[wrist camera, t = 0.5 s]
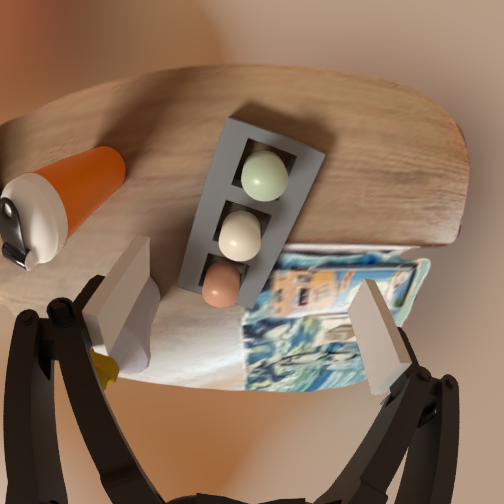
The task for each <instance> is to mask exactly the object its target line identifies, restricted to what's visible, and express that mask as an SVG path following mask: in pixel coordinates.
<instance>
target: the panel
mask: <svg viewBox="0 0 504 504" xmlns="http://www.w3.org/2000/svg"><path fill="white" fill-rule="evenodd" d="M248 138H250V139H253V140H256V141H258V142H261V143H264V144H267V145H270V146H272V147H275V148H278V149H280V150H283V151H286V152H288V153H291V154H293V155H292V158H291V160H290V162H289V165H288V167H287V169H286V171H287V173H288V185H287V188H286V190H285V191H284V193H283V194H282V195H281V196H279V197H278V198H276V199H274V200H271V201H258V200H255V199H253V198H251V197H250V196H249V195H248V194H247V193H246V192H245V190H244V189H243V186H242V182H241V180H238V179H235V178H234V175H235V172H236V169H237V166H238V164H239V161H240V158H241V156H242V153H243V150H244V147H245V145H246V142H247V139H248ZM325 155H326V154H324V153H323V152H322V151H321V150H319V149H316V148H314V147H312V146H309V145H307V144H305V143H302V142H300V141H297V140H295V139H292V138H290V137H287V136H285V135H282V134H279V133H277V132H274V131H271V130H269V129H266V128H263V127H260V126H258V125H255V124H252V123H249V122H246V121H243V120H240V119H237V118H234V117H230V116H229V117H227V119H226V122H225V125H224V127H223V130H222V133H221V136H220V139H219V142H218V145H217V148H216V151H215V154H214V157H213V160H212V163H211V166H210V169H209V172H208V175H207V179H206V182H205V185H204V188H203V192H202V195H201V198H200V202H199V205H198V208H197V212H196V215H195V219H194V222H193V226H192V229H191V233H190V237H189V240H188V244H187V248H186V252H185V256H184V260H183V263H182V267H181V271H180V276H179V280H178V284H177V287H179V288H182V289H185V290H188V291H192V292H195V293H198V294H202V288H203V284H204V280H205V276H206V275H204V274H202V271H203V267H204V264H205V261H206V258H207V255H208V253H211V254H214V255H217V256H220V257H224V258H227V257H226V256H225V255H224V254H223V253H222V252H221V250H220V248H219V237H220V233H221V232H220V231H217V230H216V227H217V224H218V221H219V218H220V215H221V212H222V209H223V206H224V203H225V200H229V201H232V202H235V203H238V204H241V205H244V206H247V207H250V208H253V209H256V210H259V211H262V212H264V213H267V217H266V219H265V221H264V224H263V226H262V229H261V231H260V235H261V246H260V250H259V252H258V253H257V254H256V255H255V256H254V257H253V258H251V259H249V260H246V261H237V262H240V263H243V264H246V266H245V269H244V271H243V273H242V276H241V278H240V284H239V296H238V300H237V301H236V303H234V304H236V305H240V306H243V307H247V308H251V309H252V308H253V306H254V304H255V302H256V300H257V298H258V296H259V294H260V292H261V290H262V288H263V286H264V284H265V282H266V280H267V278H268V276H269V274H270V272H271V270H272V268H273V266H274V264H275V262H276V260H277V258H278V256H279V254H280V252H281V250H282V247H283V245H284V243H285V241H286V239H287V237H288V235H289V233H290V231H291V229H292V227H293V224H294V222H295V220H296V218H297V216H298V214H299V212H300V210H301V207H302V205H303V203H304V201H305V199H306V197H307V195H308V192H309V190H310V188H311V186H312V184H313V182H314V179H315V177H316V175H317V173H318V171H319V168H320V166H321V164H322V162H323V160H324V157H325ZM227 259H229V258H227ZM230 260H231V259H230ZM233 261H234V260H233Z"/></svg>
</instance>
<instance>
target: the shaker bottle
mask: <svg viewBox="0 0 504 504" xmlns="http://www.w3.org/2000/svg"><path fill="white" fill-rule="evenodd" d="M125 174H126V168H125V163H124V160H123V158H122V156H121V155H120V153H119V152H117V151H116V150H115V149H113V148H111V147H108V146H100V147H97V148H94V149H91V150H88V151H85V152H82V153H79V154H76V155H74V156H71V157H68V158H65V159H63V160H60V161H58V162H55V163H53V164H50V165H48V166H45V167H43V168H40V169H38V170H36V171H34V172H27V173H23V174H22V175H20V176H19V177H17V178H15V179H13V180H12V181H10V182H9V183H8V184H7V185H6V186H5V188H4V190H3V192H2V195H1V198H0V234H1V238H2V240H3V243H2V245H1V255H2V256H3V257H4V258H5V259H7V260H9V261H11V262H13V263H15V264H16V265H18V266H20V267H22V268H24V269H26V270H29V271H30V270H32V269H33V268H34V267H35V266H36V265H37V264H38V263H45V262H48V261H50V260H51V259H52V258H53V257H54V256H55V255H56V254H57V253H58V252H59V251H60V250H61V249H62V248H63V247H64V245H65V243H66V241H67V239H68V238H69V237H70V236H71V235H72V234H73V233H74V232H75V231H76V230H77V229H78V228H79V226H80V225H81V224H82V223H83V222H84V221H85V220H86V219H87V218H88V217H89V216H90V215H91V214H92V213H93V212H94V211H95V210H96V209H97V208H98V207H99V206H100V205H101V204H102V203H103V202H105V201H106V200H107V199H108V198H109V197H110V196H111V195H112V194H113V193H114V192H115V191H116V190H117V189H119V188H120V186H121V185H122V183H123V181H124V179H125Z"/></svg>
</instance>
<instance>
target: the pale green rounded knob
mask: <svg viewBox="0 0 504 504" xmlns="http://www.w3.org/2000/svg"><path fill="white" fill-rule="evenodd" d="M241 182H242V186H243V189H244V190H245V192H246V193H247V194H248V195H249V196H250V197H251V198H253V199H255V200H258V201H271V200H274V199H276V198H278V197H279V196H281V195H282V194H283V193H284V191H285V190H286V188H287V185H288V173H287V171H286V168H285V166H284V164H283V162H282V160H281V158H280V157H279V156H278V155H277V154H275V153H273V152H271V151H267V150H260V151H256V152H254V153H252V154H251V155H250V156H249V157H248V158H247V159H246V161H245V163H244V166H243V171H242V177H241Z"/></svg>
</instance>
